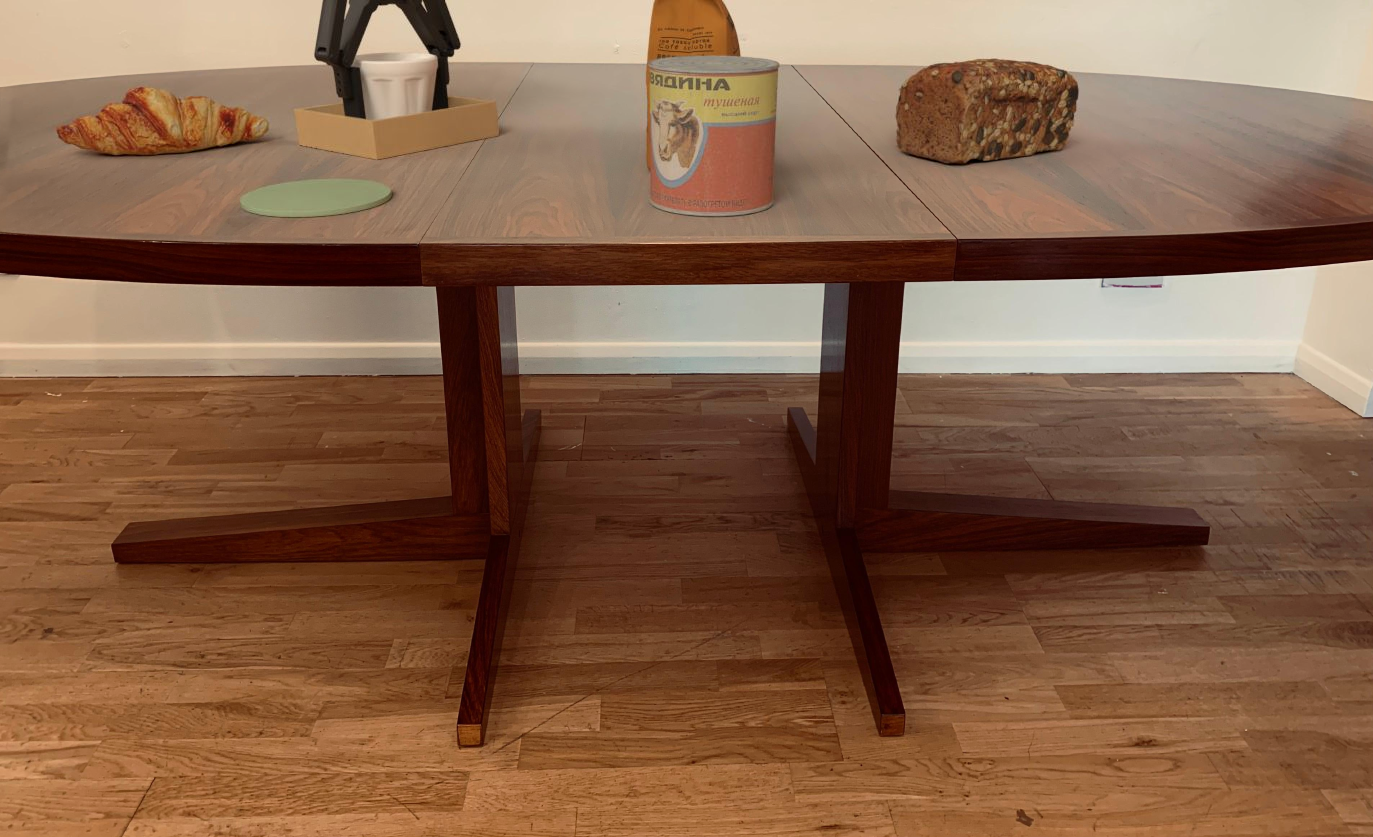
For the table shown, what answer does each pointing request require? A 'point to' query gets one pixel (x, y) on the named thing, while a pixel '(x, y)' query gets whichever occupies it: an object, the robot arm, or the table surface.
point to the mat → (315, 197)
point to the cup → (396, 83)
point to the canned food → (712, 134)
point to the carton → (396, 128)
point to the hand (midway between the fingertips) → (399, 121)
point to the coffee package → (688, 35)
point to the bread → (985, 110)
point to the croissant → (161, 125)
